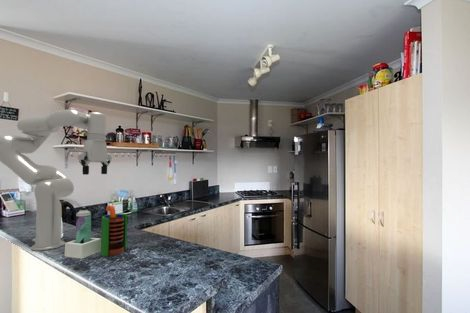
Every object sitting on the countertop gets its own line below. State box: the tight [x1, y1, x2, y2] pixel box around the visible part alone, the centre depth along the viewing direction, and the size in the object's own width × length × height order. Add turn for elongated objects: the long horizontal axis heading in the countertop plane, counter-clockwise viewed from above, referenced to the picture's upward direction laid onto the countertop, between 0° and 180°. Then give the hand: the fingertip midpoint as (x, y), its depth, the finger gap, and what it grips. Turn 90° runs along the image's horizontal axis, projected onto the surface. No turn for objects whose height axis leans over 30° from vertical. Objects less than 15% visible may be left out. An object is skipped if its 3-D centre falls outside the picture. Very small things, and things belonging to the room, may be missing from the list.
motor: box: [100, 205, 128, 257], centre depth 107 cm, size 10×9×20 cm
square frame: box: [64, 237, 101, 259], centre depth 105 cm, size 9×9×6 cm
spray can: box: [75, 206, 92, 244], centre depth 105 cm, size 6×6×20 cm
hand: (95, 174), depth 116 cm, fingers open, 9 cm apart
